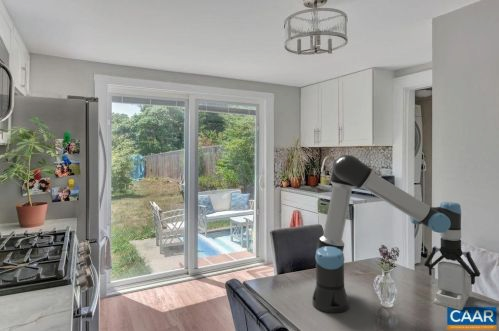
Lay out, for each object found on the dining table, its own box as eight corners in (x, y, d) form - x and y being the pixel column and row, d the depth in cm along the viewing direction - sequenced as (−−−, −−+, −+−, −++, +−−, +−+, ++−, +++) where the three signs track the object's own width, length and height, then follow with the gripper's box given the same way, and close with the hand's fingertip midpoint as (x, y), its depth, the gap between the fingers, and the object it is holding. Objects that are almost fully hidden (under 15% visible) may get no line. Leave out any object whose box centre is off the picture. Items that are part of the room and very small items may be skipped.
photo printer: (436, 288, 136) (436, 260, 136) (440, 286, 139) (439, 258, 139) (463, 296, 128) (463, 266, 128) (467, 293, 131) (466, 264, 131)
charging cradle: (433, 303, 131) (433, 270, 131) (443, 289, 144) (443, 260, 144) (461, 310, 124) (461, 276, 124) (469, 296, 137) (469, 264, 137)
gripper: (488, 241, 127) (488, 292, 128) (421, 232, 144) (421, 277, 145) (485, 245, 122) (486, 298, 122) (416, 235, 139) (417, 282, 139)
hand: (451, 287), depth 133 cm, fingers open, 13 cm apart
